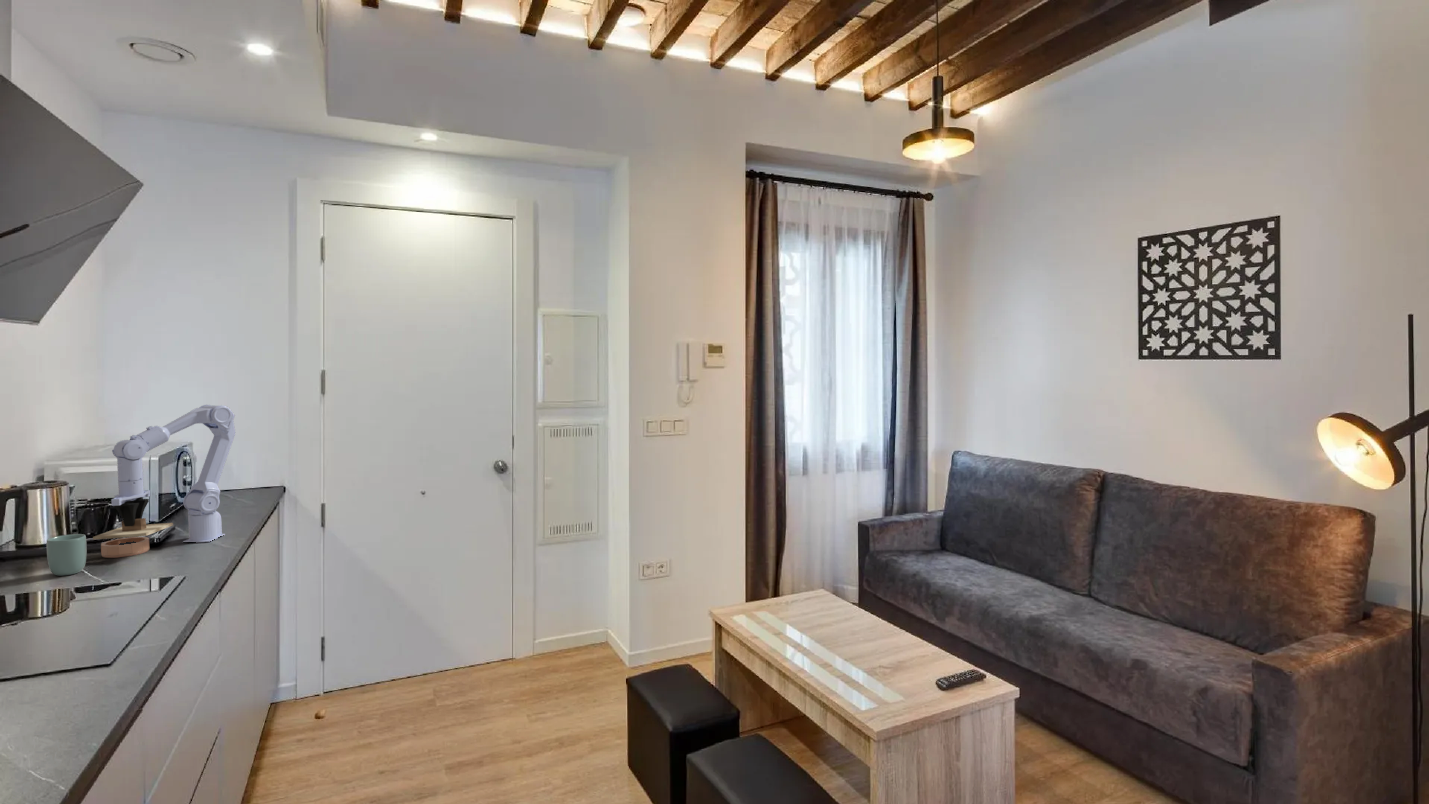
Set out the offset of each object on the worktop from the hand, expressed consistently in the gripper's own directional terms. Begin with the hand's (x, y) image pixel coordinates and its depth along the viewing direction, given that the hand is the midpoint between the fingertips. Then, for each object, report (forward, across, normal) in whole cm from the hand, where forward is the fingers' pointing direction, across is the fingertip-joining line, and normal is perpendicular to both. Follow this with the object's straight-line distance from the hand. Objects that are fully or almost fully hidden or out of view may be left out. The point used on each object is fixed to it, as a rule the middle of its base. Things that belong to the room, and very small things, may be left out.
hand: (132, 524), depth 207 cm
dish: (+9, -2, -3) cm, 10 cm away
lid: (+2, 0, 0) cm, 2 cm away
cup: (+9, +19, -5) cm, 22 cm away
